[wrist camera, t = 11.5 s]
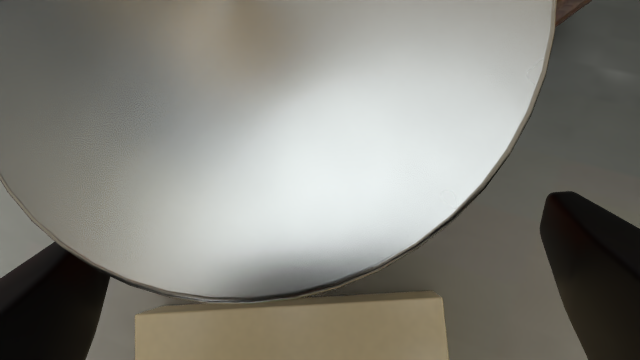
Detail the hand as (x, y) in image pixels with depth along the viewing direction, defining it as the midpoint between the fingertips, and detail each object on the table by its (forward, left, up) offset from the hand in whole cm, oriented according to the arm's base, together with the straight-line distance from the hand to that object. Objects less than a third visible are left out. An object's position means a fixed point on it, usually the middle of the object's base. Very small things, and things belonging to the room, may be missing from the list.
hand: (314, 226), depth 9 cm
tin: (+2, 0, -9) cm, 9 cm away
